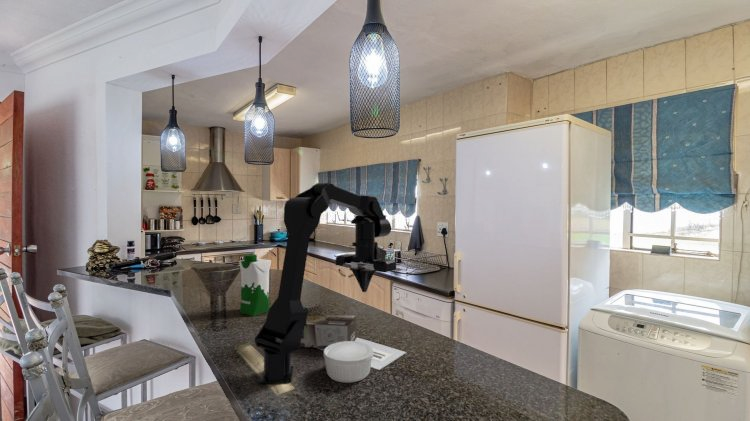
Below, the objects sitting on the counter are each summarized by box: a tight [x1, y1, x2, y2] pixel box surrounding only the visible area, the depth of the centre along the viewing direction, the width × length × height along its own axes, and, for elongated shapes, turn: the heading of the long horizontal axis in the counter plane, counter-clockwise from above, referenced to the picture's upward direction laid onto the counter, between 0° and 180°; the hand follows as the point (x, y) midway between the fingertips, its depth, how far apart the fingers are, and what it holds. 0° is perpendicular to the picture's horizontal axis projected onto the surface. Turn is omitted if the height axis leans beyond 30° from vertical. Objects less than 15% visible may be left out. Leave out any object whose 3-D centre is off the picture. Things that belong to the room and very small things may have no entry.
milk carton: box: [238, 253, 272, 317], centre depth 123 cm, size 9×9×20 cm
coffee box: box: [299, 313, 358, 349], centre depth 96 cm, size 9×6×16 cm
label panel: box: [316, 337, 407, 371], centre depth 92 cm, size 22×12×1 cm, turn 54°
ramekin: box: [322, 341, 373, 383], centre depth 79 cm, size 11×11×5 cm
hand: (364, 291), depth 104 cm, fingers closed
